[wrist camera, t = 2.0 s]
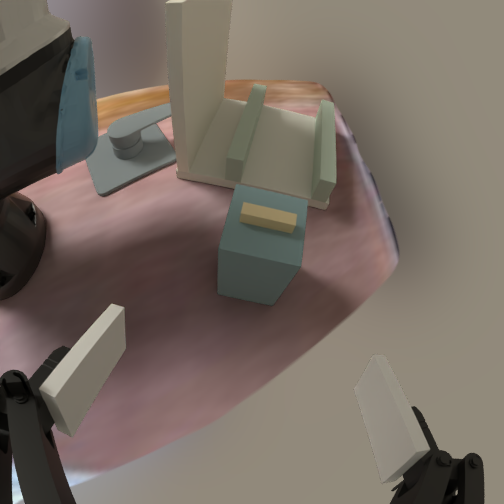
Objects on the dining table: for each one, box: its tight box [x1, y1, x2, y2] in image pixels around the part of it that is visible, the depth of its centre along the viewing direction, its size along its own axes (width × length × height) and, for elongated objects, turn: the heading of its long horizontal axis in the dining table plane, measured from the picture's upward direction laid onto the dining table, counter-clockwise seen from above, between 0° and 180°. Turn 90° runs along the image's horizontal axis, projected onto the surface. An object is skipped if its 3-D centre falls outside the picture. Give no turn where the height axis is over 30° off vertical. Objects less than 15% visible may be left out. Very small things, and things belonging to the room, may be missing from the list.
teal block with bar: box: [217, 184, 308, 306], centre depth 26 cm, size 6×6×12 cm
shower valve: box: [86, 103, 176, 196], centre depth 35 cm, size 12×6×15 cm
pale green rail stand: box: [165, 0, 336, 210], centre depth 29 cm, size 20×18×24 cm
